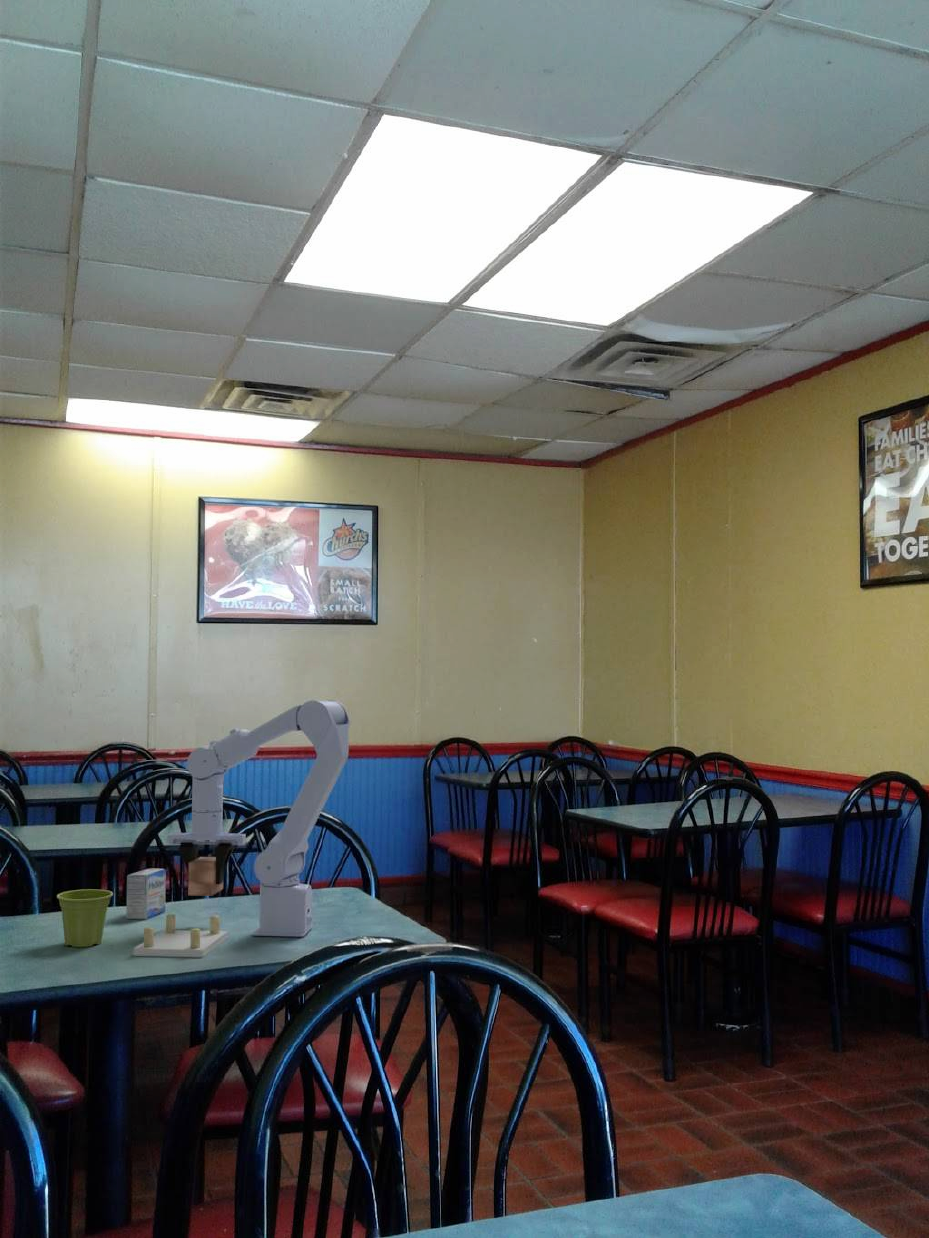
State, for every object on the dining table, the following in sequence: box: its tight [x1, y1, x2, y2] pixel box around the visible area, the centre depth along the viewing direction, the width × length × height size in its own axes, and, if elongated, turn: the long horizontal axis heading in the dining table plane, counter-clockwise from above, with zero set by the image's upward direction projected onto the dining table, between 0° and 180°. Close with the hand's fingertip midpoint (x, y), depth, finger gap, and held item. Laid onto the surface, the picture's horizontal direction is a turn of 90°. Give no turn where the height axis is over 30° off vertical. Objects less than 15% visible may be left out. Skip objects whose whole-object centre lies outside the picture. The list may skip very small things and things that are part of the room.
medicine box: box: [126, 867, 167, 921], centre depth 213 cm, size 8×4×9 cm, turn 168°
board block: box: [187, 856, 224, 897], centre depth 203 cm, size 4×7×6 cm, turn 175°
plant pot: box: [56, 888, 114, 948], centre depth 190 cm, size 9×9×9 cm
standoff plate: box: [133, 914, 229, 958], centre depth 187 cm, size 12×14×4 cm
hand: (206, 883), depth 203 cm, fingers closed on board block, 4 cm apart
